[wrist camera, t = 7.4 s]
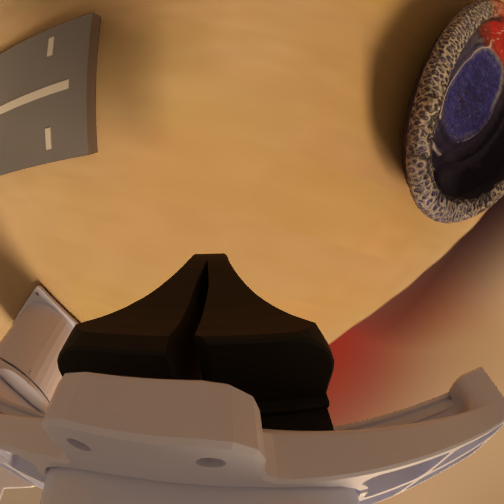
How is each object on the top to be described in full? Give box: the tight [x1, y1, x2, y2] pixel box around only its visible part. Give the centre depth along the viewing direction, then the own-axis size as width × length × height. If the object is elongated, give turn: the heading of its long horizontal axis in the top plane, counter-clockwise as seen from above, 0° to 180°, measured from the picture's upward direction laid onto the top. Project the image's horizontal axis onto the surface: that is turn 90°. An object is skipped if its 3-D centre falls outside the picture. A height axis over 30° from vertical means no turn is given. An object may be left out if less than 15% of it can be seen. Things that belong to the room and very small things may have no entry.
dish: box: [402, 0, 504, 223], centre depth 14 cm, size 16×31×5 cm, turn 139°
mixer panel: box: [0, 13, 101, 175], centre depth 13 cm, size 18×11×2 cm, turn 89°
